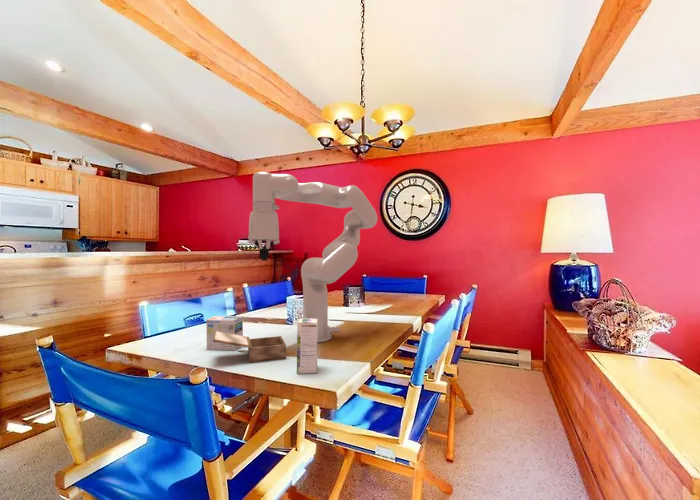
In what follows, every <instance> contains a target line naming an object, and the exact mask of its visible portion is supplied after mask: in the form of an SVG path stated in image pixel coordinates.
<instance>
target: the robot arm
mask: <svg viewBox="0 0 700 500" xmlns="http://www.w3.org/2000/svg"><path fill="white" fill-rule="evenodd" d="M276 199H279V200H281V201H282V200H283V201H287V202H288V201H289V202H294V203H295V202H296V203H306V204H315V205H321V206H326V207H330V208H336V209H347V208H352V210H350V211H348V212H347V213H346V214H345V215H344V218H343V231H342V233H341V234H340V235H339V236H338V237H336V238H335V239H334V240H332V241H331V242H330V243H329V244H327V245H326V247H324V249H323V250H322V257H310V258H307V259H306V260H304V262H303V263H302V265H301V268H300V276H301V281H302V294H303V295H302V297H303V298H302V301H303V302H302V303H303V304H302V313H303V314H302V319H303V318H313V319H318V343H325V342H328V341H330V340H331V339H332V334H333V333H335V334H336V333H340V332H341V330H340V327H339V326H338V327H335V326H331V327H330V326H329V325H328V319H329V317H328V316H329V315H328V314H329V313H328V311H329V310H328V307H329V306H328V303H329V302H328V298H329V297H328V296H329V295H328V288H327V285H330V284H333V283H335V282H337V280H339V279H340V278H341V277H342V276H343V275H344V274H345V273H347V271H348V270H350V269H351V268H352V267H353V266H354V265H355V263H356V262H357V260H358V256H359V251H358V248H357V247H358V246H359V244H360V240H361V232H360V231H361V230H367V229H372V228H374V227H375V226H376V225H377V223H378V214H377V211H376V209H375V208H374V207H373V205H372V204H371V202H370V200H369V199H368V197H367V196H366V195H365V193H364V191H362V189H360V187H358V186H357V185H354V184H350V185H347V186H337V185H333V184H328V183H325V182H320V181H311V182H302V183H301V182H298V179H297V178H296V177H295V176H294V175H292V174H289V173H272V172H267V171H258V172H254V173H253V176H252V211H251V212H250V214H249V220H248V221H249V222H248V239H247V240H248V241H247V243H248V244H251V245H254V246H256V247H257V248H258V249H259V259H260V261H262V262H263V261H264V262H265V261H268V259H269V256H270V255H269V251H270V250H269V249H270V248H271V247H273V245H278V244H280V228H279V216H278V213H277V212H276V211H277V210H280V205H278V204H277V205H276ZM263 241H265V246H264V247H263Z"/></svg>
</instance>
